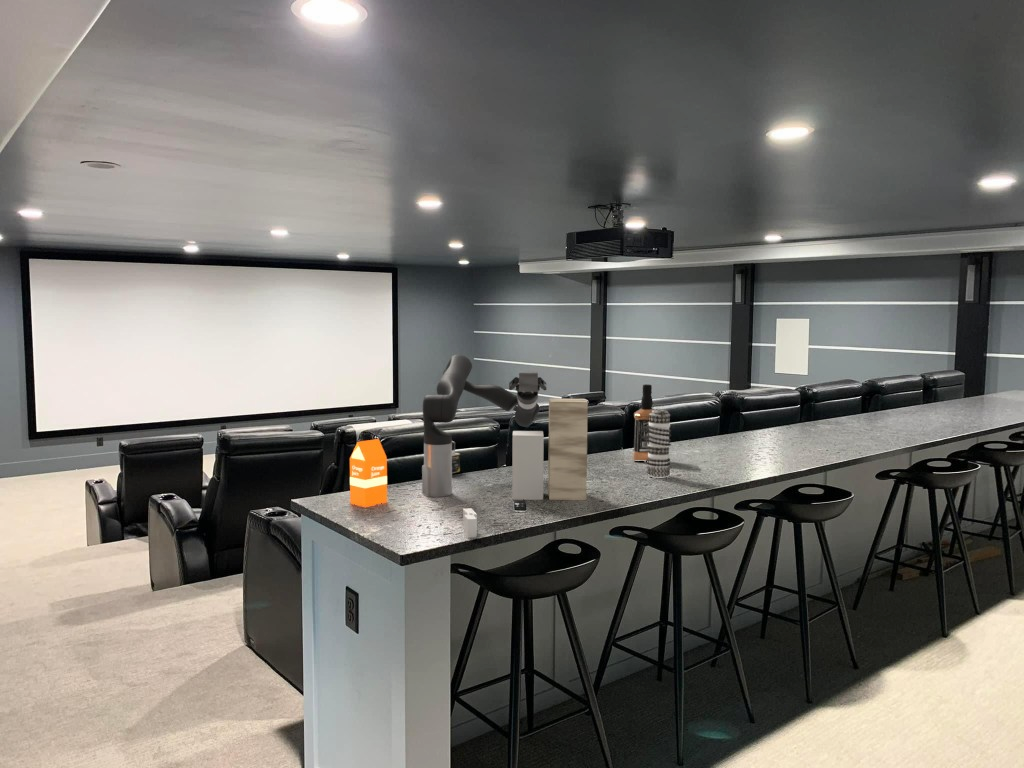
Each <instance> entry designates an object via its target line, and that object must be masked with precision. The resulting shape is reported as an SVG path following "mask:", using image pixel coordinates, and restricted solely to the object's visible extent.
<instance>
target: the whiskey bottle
mask: <svg viewBox="0 0 1024 768" xmlns="http://www.w3.org/2000/svg"><path fill="white" fill-rule="evenodd" d="M652 389H653V388H652V384H642V396H641V400H640V401H641V402H640V403H641V405H640V406H641V408H639V409H638V410H636V411H635V412H634V413H633V417H634V435H633V437H634V439H633V448H632V460H633V459H634V460H646V461H648V460H647V458H648V453H649V446H648V443H649V441H647V438H648V437H647V434H648V433H649V432H648V431H647V428H648V427H647V425H648V424H649V414H650V413H651V411H653V410H654V409H653V398H652V392H653V391H652Z"/></svg>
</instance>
